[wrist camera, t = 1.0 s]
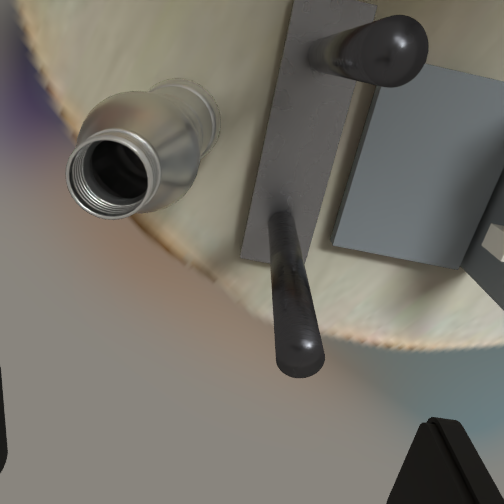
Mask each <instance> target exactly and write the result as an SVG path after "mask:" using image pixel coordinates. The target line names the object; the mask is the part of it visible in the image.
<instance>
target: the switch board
mask: <svg viewBox="0 0 504 504" xmlns="http://www.w3.org/2000/svg"><path fill="white" fill-rule="evenodd" d="M330 240H331V242H332V245H333V246H338V247H343V248H348V249H353V250H359V251H364V252H369V253H374V254H379V255H384V256H389V257H394V258H399V259H405V260H410V261H415V262H420V263H425V264H430V265H435V266H440V267H445V268H451V269H456V270H458V269H459V267H460V266H461V267H462V268H463V269H464V270H465V271H466V272H467V273H468V274H469V275H470V276H471V277H472V278H473V279H474V280H475V281H476V282H477V284H478V285H479V286H480V287H481V288H482V289H483V290H484V291H485V292H486V293H487V294H488V295H489V296H490V297H491V298H492V299H493V300H494V301H495V302H496V303H497V304H498V305H499V306H500V307H501V308H502V309H503V310H504V82H503V81H499V80H494V79H490V78H486V77H481V76H477V75H473V74H468V73H464V72H459V71H455V70H451V69H446V68H442V67H438V66H433V65H429V64H424V66H423V68H422V69H421V71H420V72H419V73H418V75H417V76H416V77H415V78H414V79H412V80H411V81H410V82H408V83H406V84H404V85H402V86H399V87H394V88H387V87H382V86H378V85H377V86H376V89H375V92H374V96H373V99H372V102H371V106H370V109H369V112H368V115H367V119H366V122H365V125H364V129H363V132H362V135H361V139H360V142H359V145H358V149H357V152H356V155H355V159H354V162H353V165H352V169H351V172H350V175H349V179H348V182H347V185H346V189H345V192H344V195H343V199H342V202H341V205H340V209H339V212H338V215H337V219H336V222H335V225H334V229H333V232H332V235H331V239H330Z"/></svg>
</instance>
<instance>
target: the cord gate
mask: <svg viewBox="0 0 504 504" xmlns="http://www.w3.org/2000/svg"><path fill="white" fill-rule="evenodd" d="M376 9H377V5H373V4H369V3H364V2H360V1H356V0H294V2H293V6H292V11H291V16H290V21H289V25H288V30H287V35H286V39H285V44H284V49H283V54H282V58H281V63H280V68H279V73H278V77H277V82H276V87H275V91H274V96H273V101H272V106H271V110H270V115H269V120H268V124H267V129H266V134H265V139H264V143H263V148H262V153H261V158H260V162H259V167H258V172H257V176H256V181H255V186H254V191H253V195H252V200H251V205H250V209H249V214H248V219H247V224H246V228H245V233H244V238H243V242H242V247H241V252H240V258H244V259H249V260H254V261H260V262H265V263H270V266H271V283H272V300H273V316H274V333H275V349H276V363H277V366H278V367H279V369H280V370H281V371H282V372H283V373H284V374H286V375H288V376H290V377H293V378H306V377H309V376H312V375H314V374H315V373H317V372H318V371H319V370H320V369H321V368H322V366H323V364H324V361H325V354H324V350H323V345H322V341H321V336H320V332H319V328H318V323H317V319H316V314H315V310H314V305H313V301H312V296H311V292H310V287H309V283H308V278H307V274H306V270H305V261H306V258H307V254H308V250H309V247H310V243H311V240H312V236H313V233H314V229H315V226H316V222H317V219H318V215H319V211H320V208H321V204H322V201H323V197H324V194H325V190H326V187H327V183H328V180H329V176H330V172H331V169H332V165H333V162H334V158H335V155H336V151H337V148H338V144H339V140H340V137H341V133H342V130H343V126H344V123H345V119H346V116H347V112H348V109H349V105H350V101H351V98H352V94H353V91H354V87H355V84H356V81H360V82H364V83H369V84H373V85H378V86H382V87H387V88H394V87H399V86H402V85H404V84H406V83H408V82H410V81H411V80H412V79H414V78H415V77H416V76H417V75H418V73H419V72H420V71H421V69H422V68H423V66H424V64H425V62H426V59H427V55H428V38H427V35H426V32H425V30H424V28H423V27H422V26H421V24H420V23H419V22H418V21H416V20H415V19H413V18H411V17H409V16H405V15H394V16H390V17H387V18H383V19H380V20H377V21H374V22H373V20H374V16H375V13H376Z"/></svg>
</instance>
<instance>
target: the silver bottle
mask: <svg viewBox="0 0 504 504" xmlns="http://www.w3.org/2000/svg"><path fill="white" fill-rule="evenodd" d="M220 126H221V119H220V112H219V109H218V106H217V104H216V102H215V100H214V98H213V97H212V96H211V94H210V93H209V92H208V91H207V90H206V89H205V88H203V87H202V86H201V85H199V84H197V83H195V82H193V81H190V80H187V79H179V78H175V79H167V80H165V81H162V82H159V83H158V84H156V85H155V86H153V87H152V88H151V89H150V90H149V91H148V92H142V91H131V92H123V93H119V94H116V95H113V96H110V97H108V98H106V99H105V100H103V101H102V102H100V103H99V104H97V105H96V106H95V107H94V108H93V109H92V110H91V111H90V113H89V114H88V116H87V117H86V119H85V121H84V122H83V125H82V127H81V130H80V132H79V135H78V138H77V145H76V148H75V150H74V151H73V152H72V154H71V155H70V157H69V160H68V163H67V165H66V172H65V175H66V183H67V187H68V190H69V192H70V194H71V196H72V198H73V199H74V200H75V201H76V203H77V204H78V205H79V206H80V207H81V208H82V209H83V210H85V211H86V212H88V213H89V214H91V215H94V216H96V217H99V218H102V219H111V220H115V219H122V218H126V217H129V216H131V215H133V214H134V213H148V212H154V211H157V210H160V209H164V208H166V207H168V206H170V205H172V204H174V203H176V202H177V201H178V200H179V199H180V198H182V197H183V196H184V195H185V194H186V192H187V191H188V190H189V188H190V187H191V186H192V184H193V182H194V179H195V177H196V175H197V171H198V167H199V164H200V159H201V158H203V157H204V156H205V155H206V154H207V153H209V152H210V150H211V149H212V148H213V147H214V145H215V143H216V141H217V139H218V136H219V133H220Z"/></svg>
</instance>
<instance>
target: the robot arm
mask: <svg viewBox="0 0 504 504" xmlns="http://www.w3.org/2000/svg"><path fill="white" fill-rule="evenodd" d="M7 453H8V450H7V438H6V426H5V414H4V403H3V390H2V378H1V367H0V473H1V471H2V469H3V468H4V465H5V463H6V459H7ZM387 504H504V499H503V498H502V496H501V494H500V492H499V490H498V488H497V486H496V485H495V483H494V481H493V479H492V478H491V476H490V474H489V473H488V471H487V469H486V467H485V465H484V463H483V462H482V460H481V458H480V456H479V455H478V453H477V451H476V449H475V447H474V445H473V444H472V442H471V440H470V438H469V437H468V435H467V433H466V431H465V429H464V428H463V426H462V425H461V423H460V422H458V421H456V420H450V419H443V418H436V417H431V418H429V419H428V421H427V422H426V423H422V424H420V426H419V428H418V431H417V433H416V435H415V437H414V440H413V442H412V444H411V447H410V449H409V451H408V454H407V456H406V458H405V461H404V463H403V465H402V467H401V470H400V472H399V474H398V477H397V479H396V482H395V484H394V486H393V489H392V491H391V493H390V495H389V497H388V500H387Z"/></svg>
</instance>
